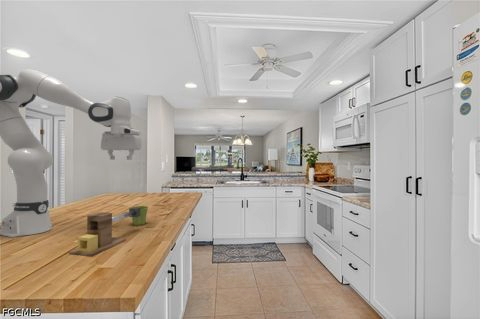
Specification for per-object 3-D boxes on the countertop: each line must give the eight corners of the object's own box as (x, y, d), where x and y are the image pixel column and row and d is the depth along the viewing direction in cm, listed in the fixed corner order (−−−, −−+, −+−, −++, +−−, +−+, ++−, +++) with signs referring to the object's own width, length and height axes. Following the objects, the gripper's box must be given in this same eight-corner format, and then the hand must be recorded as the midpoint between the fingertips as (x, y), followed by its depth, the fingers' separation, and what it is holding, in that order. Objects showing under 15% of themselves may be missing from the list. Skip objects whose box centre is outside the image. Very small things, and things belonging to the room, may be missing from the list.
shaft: (103, 229, 97) (103, 219, 97) (94, 228, 98) (94, 218, 98) (140, 215, 121) (140, 207, 121) (133, 215, 121) (133, 207, 121)
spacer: (89, 252, 90) (89, 238, 90) (77, 251, 91) (77, 237, 91) (97, 248, 94) (98, 235, 94) (86, 247, 95) (86, 234, 95)
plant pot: (141, 226, 127) (142, 209, 127) (125, 225, 129) (125, 208, 129) (151, 222, 136) (152, 206, 136) (136, 221, 138) (136, 205, 138)
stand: (68, 253, 91) (69, 218, 91) (105, 238, 108) (105, 209, 108) (92, 256, 88) (92, 220, 88) (126, 240, 106) (126, 210, 106)
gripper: (97, 130, 121) (97, 159, 121) (135, 130, 116) (135, 159, 116) (107, 132, 127) (107, 159, 127) (143, 131, 122) (143, 159, 122)
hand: (120, 159), depth 121 cm, fingers open, 8 cm apart
